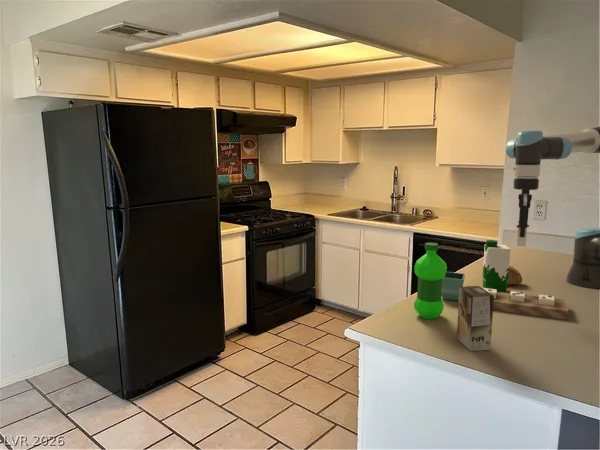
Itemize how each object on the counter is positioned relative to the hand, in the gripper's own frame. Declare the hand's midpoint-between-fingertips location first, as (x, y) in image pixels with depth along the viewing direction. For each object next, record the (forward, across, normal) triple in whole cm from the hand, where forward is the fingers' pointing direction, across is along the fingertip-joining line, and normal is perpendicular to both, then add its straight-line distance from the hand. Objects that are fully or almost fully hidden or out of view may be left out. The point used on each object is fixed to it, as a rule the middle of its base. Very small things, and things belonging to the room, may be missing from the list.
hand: (521, 245), depth 151 cm
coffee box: (+23, +38, -12) cm, 46 cm away
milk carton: (+23, -18, -8) cm, 30 cm away
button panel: (+22, 0, 0) cm, 22 cm away
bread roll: (+23, -29, -5) cm, 38 cm away
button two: (+21, 0, +9) cm, 23 cm away
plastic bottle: (+23, +21, -27) cm, 41 cm away
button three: (+21, 0, 0) cm, 21 cm away
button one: (+21, 0, -9) cm, 23 cm away
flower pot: (+23, -1, -22) cm, 32 cm away
